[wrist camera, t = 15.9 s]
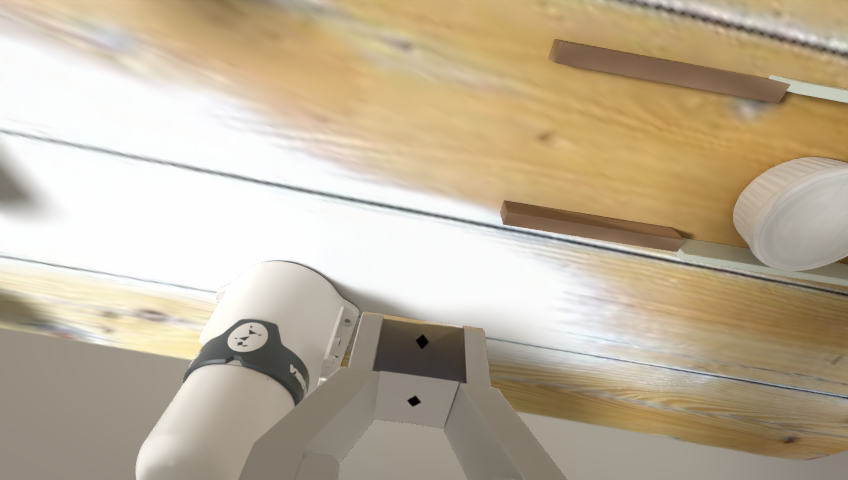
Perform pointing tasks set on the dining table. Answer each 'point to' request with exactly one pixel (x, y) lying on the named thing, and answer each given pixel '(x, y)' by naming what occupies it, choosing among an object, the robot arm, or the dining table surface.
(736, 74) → the runway rails
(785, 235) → the ramekin
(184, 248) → the dining table surface
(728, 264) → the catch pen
